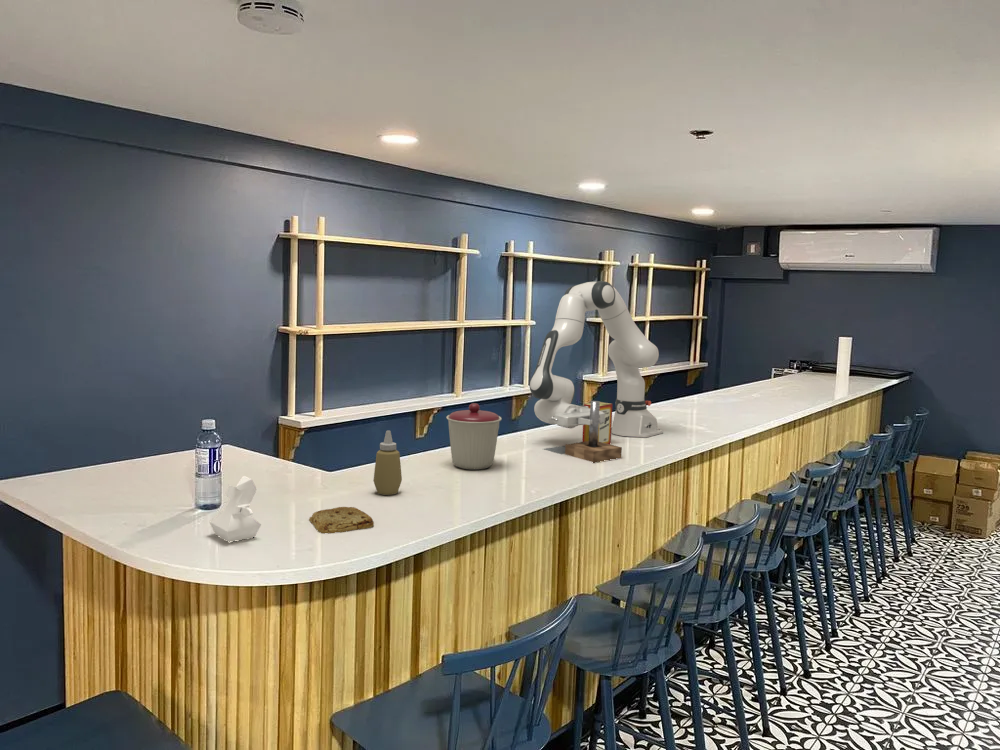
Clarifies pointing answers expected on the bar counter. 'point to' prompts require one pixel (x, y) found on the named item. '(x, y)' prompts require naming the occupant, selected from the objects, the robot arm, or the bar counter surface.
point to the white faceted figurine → (237, 513)
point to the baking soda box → (601, 425)
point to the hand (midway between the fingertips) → (595, 422)
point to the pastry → (340, 520)
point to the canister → (473, 437)
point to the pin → (594, 424)
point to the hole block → (593, 451)
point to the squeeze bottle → (387, 467)
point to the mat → (557, 449)
